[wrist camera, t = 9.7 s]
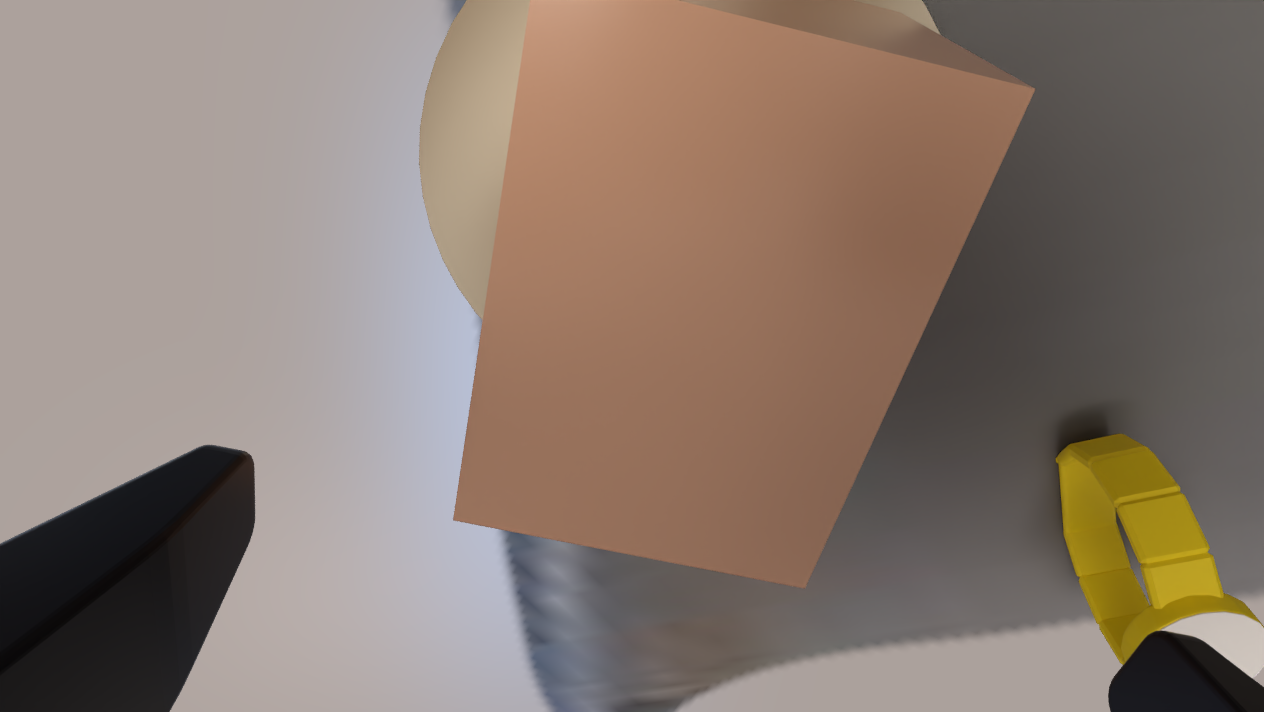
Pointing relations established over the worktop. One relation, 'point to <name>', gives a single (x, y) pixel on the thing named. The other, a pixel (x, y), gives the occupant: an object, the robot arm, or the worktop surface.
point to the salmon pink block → (717, 268)
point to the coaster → (488, 131)
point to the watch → (1146, 554)
